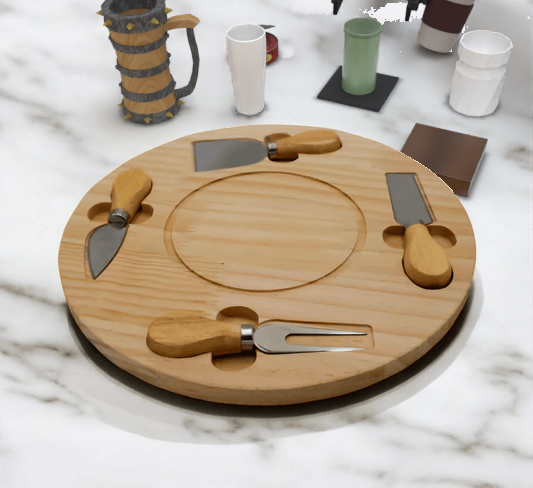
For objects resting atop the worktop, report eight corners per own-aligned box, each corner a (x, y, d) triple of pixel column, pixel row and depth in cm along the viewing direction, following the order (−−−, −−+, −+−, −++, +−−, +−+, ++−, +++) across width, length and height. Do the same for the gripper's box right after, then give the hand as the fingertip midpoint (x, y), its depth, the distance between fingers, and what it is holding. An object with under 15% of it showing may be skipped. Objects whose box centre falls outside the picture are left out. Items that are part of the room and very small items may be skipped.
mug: (122, 91, 126) (100, -12, 112) (211, 87, 125) (200, -15, 111) (111, 129, 116) (86, 23, 102) (207, 126, 116) (195, 19, 102)
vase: (487, 121, 114) (502, 59, 106) (440, 107, 118) (451, 46, 110) (504, 98, 119) (520, 37, 111) (459, 85, 123) (471, 25, 115)
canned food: (236, 84, 135) (209, 44, 129) (251, 56, 141) (227, 16, 135) (281, 69, 128) (255, 26, 123) (295, 40, 134) (271, -2, 128)
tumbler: (384, 87, 122) (390, 27, 114) (356, 99, 120) (360, 39, 111) (360, 73, 126) (365, 13, 118) (333, 84, 124) (335, 24, 115)
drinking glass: (244, 123, 116) (239, 45, 106) (224, 106, 121) (218, 30, 110) (275, 110, 119) (273, 34, 108) (255, 94, 123) (251, 19, 113)
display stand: (484, 153, 108) (488, 138, 106) (467, 197, 100) (470, 181, 98) (413, 137, 112) (415, 122, 110) (392, 177, 104) (394, 162, 102)
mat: (398, 79, 125) (399, 77, 125) (378, 112, 118) (378, 109, 117) (340, 67, 129) (340, 65, 129) (317, 98, 122) (317, 95, 121)
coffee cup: (448, 59, 126) (480, -19, 118) (402, 41, 130) (430, -37, 121) (462, 51, 134) (493, -24, 126) (419, 33, 137) (446, -41, 129)
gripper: (444, -11, 136) (435, 36, 122) (327, -20, 142) (305, 24, 127) (450, -48, 131) (441, -3, 117) (328, -56, 136) (306, -14, 122)
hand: (370, 11), depth 122 cm, fingers open, 13 cm apart
